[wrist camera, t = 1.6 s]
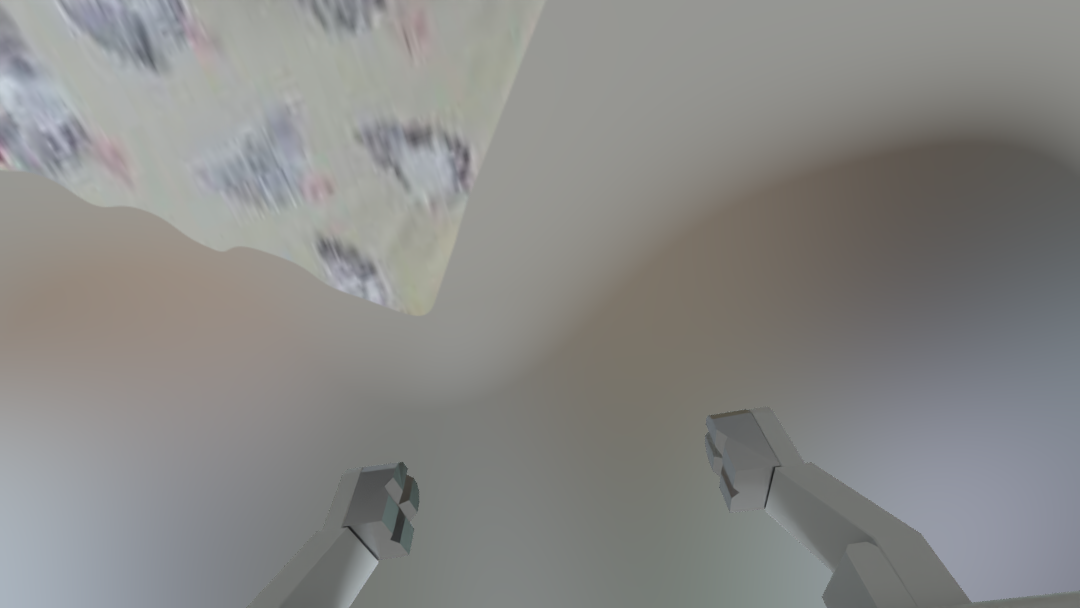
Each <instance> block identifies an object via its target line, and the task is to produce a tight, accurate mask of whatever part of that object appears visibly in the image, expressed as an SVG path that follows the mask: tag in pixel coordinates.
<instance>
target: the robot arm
mask: <svg viewBox="0 0 1080 608" xmlns="http://www.w3.org/2000/svg"><path fill="white" fill-rule="evenodd" d="M706 425H707V428H708V430H709V432H708V433H707V434H706V435H705V446H706V452H707V456H708V459H709V462H710V465H711V468H712V470H713V472H715V473H716V474H717V475H719V476H720V487H719V488H720V490H721V492H722V495H723V497H724V500H725V502H726V505H727V507H728V509H729V512H740V511H749V510H758V509H765V511H766V512H767V513H768V514H769V515H770V516H771V517H772V518H773V519H775V520H776V521H777V522H778V523H779V524H780V525H781V526H782V527H783V528H784V529H786V530H787V531H788V532H789V533H790V534H791V535H792V536H793V537H794V538H795V539H797V540H798V541H799V542H800V543H801V544H802V545H803V546H804V547H806V548H807V549H808V550H809V551H810V552H811V553H812V554H813V555H814V556H815V557H817V558H818V559H819V560H820V561H821V562H822V563H823V564H824V565H825V566H826V567H827V568H829V569H830V570H831V571H832V572H833V575H832V577H831V580H830V581H829V583H828V585H827V587H826V590H825V591H824V594H823V596H822V598H823V600H824V603H825V605H826V606H827V608H1080V591H1072V592H1063V593H1054V594H1045V595H1036V596H1027V597H1018V598H1009V599H1000V600H992V601H983V602H974V603H972V602H971V601H970V600H969V598H968V597H967V596H966V594H965V593H964V592H963V590H962V589H961V588H960V586H959V585H958V583H957V582H956V581H955V579H954V578H953V577H952V575H951V574H950V573H949V571H948V570H947V569H946V567H945V566H944V564H943V563H942V562H941V561H940V559H939V558H938V556H937V555H936V554H935V552H934V551H933V550H932V548H931V547H930V545H929V544H928V543H927V541H926V540H925V539H924V537H923V536H922V535H921V533H919V532H917V531H916V530H914V529H913V528H911V527H909V526H908V525H907V524H905V523H904V522H902V521H900V520H899V519H897V518H896V517H894V516H893V515H891V514H890V513H888V512H887V511H885V510H884V509H882V508H881V507H879V506H878V505H876V504H875V503H873V502H871V501H870V500H868V499H867V498H865V497H864V496H862V495H861V494H859V493H858V492H856V491H855V490H853V489H851V488H850V487H848V486H847V485H845V484H844V483H842V482H841V481H839V480H838V479H836V478H834V477H833V476H832V475H830V474H828V473H827V472H825V471H824V470H822V469H821V468H819V467H818V466H816V465H815V464H813V463H811V462H810V463H805V462H804V460H803V459H802V457H801V456H800V454H799V453H798V451H797V449H796V448H795V446H794V444H793V442H792V441H791V439H790V438H789V436H788V434H787V433H786V431H785V429H784V428H783V426H782V425H781V423H780V421H779V420H778V418H777V416H776V415H775V413H774V411H773V410H772V409H771V408H770V407H760V408H755V409H749V410H746V409H744V410H738V411H732V412H726V413H720V414H714V415H709V416H708V417H707V419H706ZM407 470H408V468H407V467H406V465H405V464H404V463H403V462H398V463H391V464H384V465H376V466H369V467H360V468H353V469H347V470H346V471H345V473H344V474H343V475H342V477H341V480H340V483H339V486H338V489H337V491H336V494H335V497H334V499H333V502H332V505H331V508H330V510H329V513H328V516H327V519H326V521H325V524H324V527H323V530H321V531H317V532H316V533H315V534H314V535H313V536H312V537H311V538H310V539H309V541H307V543H306V544H305V545H304V546H303V547H302V548H301V549H300V550H299V551H298V552H297V554H295V556H294V557H293V558H292V559H291V560H290V561H289V562H288V563H287V564H286V565H285V566H284V568H283V569H282V570H281V571H280V572H279V573H278V574H277V575H276V576H275V577H274V579H272V581H271V582H270V583H269V584H268V585H267V586H266V587H265V588H264V589H263V590H262V592H260V594H259V595H258V596H257V597H256V598H255V599H254V600H253V601H252V602H251V603H250V604H249V605H248V607H247V608H349V606H350V605H351V603H352V602H353V600H354V599H355V597H356V596H357V594H358V592H359V591H360V590H361V588H362V587H363V585H364V584H365V582H366V581H367V579H368V578H369V576H370V575H371V573H372V572H373V570H374V569H375V567H376V566H377V564H378V562H379V561H378V560H382V559H388V558H394V557H400V556H406V555H409V553H410V548H411V543H412V538H413V533H414V528H413V526H412V524H411V522H410V521H411V520H412V519H413V518H414V516H415V515H416V514H417V512H418V507H419V489H418V485H417V483H416V481H415V479H414V478H413V477H411V476H409V475H407Z"/></svg>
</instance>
